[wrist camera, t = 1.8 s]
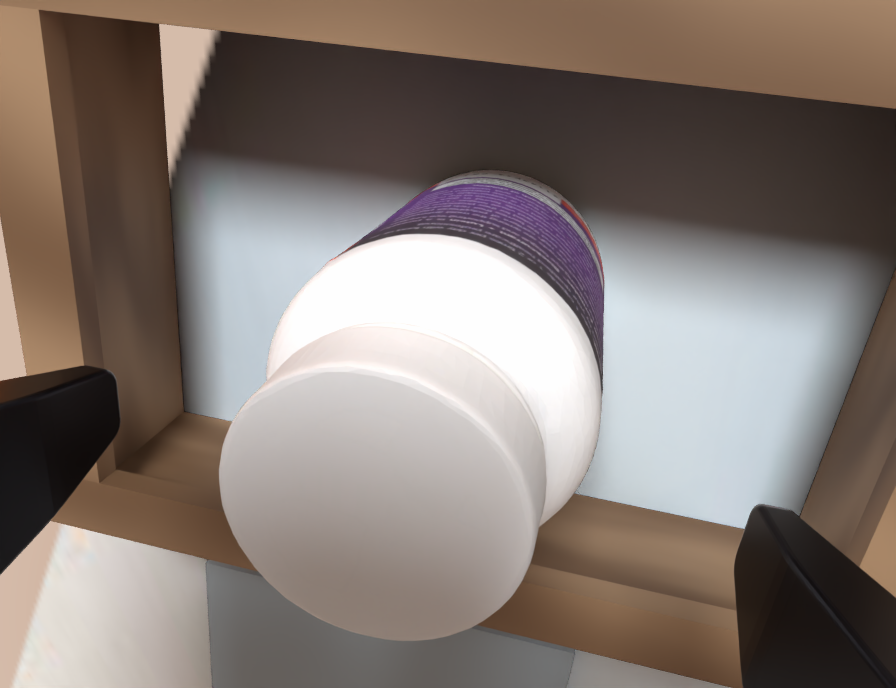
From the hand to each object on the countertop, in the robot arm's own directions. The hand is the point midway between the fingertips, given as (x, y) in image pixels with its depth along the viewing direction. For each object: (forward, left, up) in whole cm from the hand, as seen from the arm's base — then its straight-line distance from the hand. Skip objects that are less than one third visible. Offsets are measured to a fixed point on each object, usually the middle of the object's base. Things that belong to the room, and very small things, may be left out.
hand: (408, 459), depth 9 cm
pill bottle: (0, 0, -9) cm, 9 cm away
